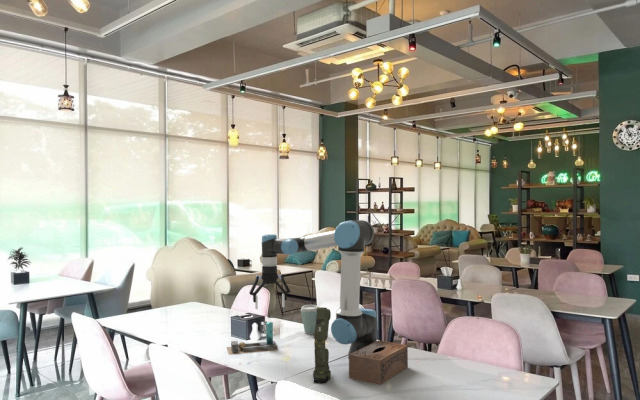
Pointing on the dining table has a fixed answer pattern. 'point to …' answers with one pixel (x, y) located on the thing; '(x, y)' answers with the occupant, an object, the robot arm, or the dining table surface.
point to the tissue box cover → (378, 362)
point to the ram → (268, 335)
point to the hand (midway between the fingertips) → (270, 307)
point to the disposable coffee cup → (309, 318)
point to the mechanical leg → (321, 346)
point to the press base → (250, 348)
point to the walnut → (242, 345)
